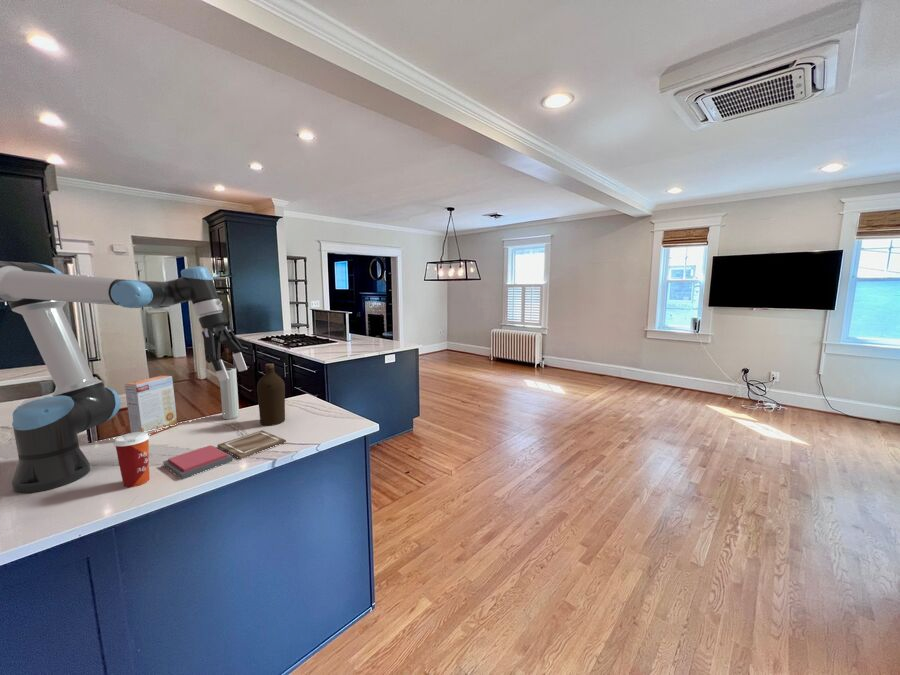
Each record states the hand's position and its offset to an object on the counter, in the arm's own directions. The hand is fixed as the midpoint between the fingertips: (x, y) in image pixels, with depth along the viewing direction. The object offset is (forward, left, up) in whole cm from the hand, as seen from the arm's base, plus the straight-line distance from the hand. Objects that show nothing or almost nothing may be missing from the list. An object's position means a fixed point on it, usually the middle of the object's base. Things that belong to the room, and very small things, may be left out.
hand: (234, 375), depth 120 cm
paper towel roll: (-37, +15, -27) cm, 49 cm away
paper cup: (-3, -27, -27) cm, 38 cm away
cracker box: (-45, -10, -27) cm, 54 cm away
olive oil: (-17, +22, -27) cm, 39 cm away
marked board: (-1, +5, -27) cm, 28 cm away
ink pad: (-1, -12, -27) cm, 30 cm away
